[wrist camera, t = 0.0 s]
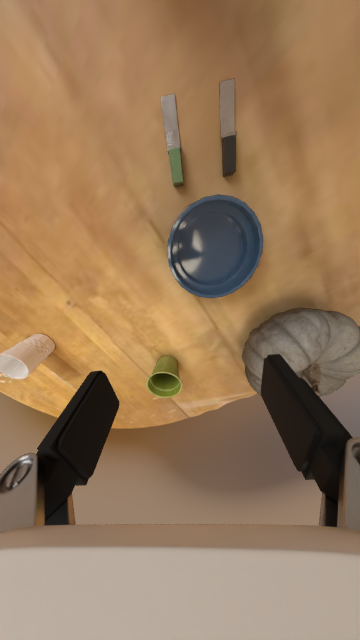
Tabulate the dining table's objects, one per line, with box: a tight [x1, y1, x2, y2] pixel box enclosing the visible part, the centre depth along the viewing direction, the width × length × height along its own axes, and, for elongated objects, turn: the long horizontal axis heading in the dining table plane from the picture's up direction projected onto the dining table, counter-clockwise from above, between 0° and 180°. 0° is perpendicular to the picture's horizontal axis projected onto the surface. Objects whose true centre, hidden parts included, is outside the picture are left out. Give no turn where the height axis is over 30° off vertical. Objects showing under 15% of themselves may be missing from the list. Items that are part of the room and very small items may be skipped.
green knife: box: [161, 94, 183, 186], centre depth 27 cm, size 11×2×2 cm, turn 9°
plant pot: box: [146, 356, 182, 398], centre depth 46 cm, size 9×9×9 cm
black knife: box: [219, 78, 236, 177], centre depth 26 cm, size 11×2×2 cm, turn 9°
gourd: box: [242, 308, 360, 397], centre depth 38 cm, size 25×25×17 cm
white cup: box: [0, 334, 55, 379], centre depth 43 cm, size 8×8×10 cm
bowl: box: [167, 195, 263, 298], centre depth 32 cm, size 17×17×6 cm
